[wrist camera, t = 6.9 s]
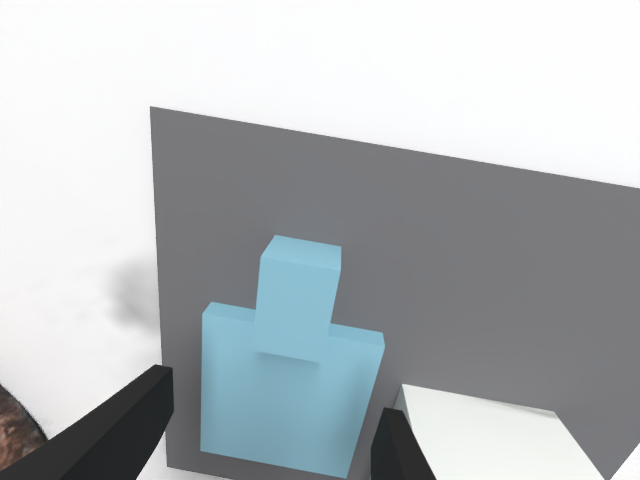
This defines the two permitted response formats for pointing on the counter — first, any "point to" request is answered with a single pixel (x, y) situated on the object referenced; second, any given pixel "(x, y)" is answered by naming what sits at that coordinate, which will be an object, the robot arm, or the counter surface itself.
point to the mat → (406, 275)
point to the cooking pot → (16, 431)
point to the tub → (491, 438)
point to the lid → (287, 367)
